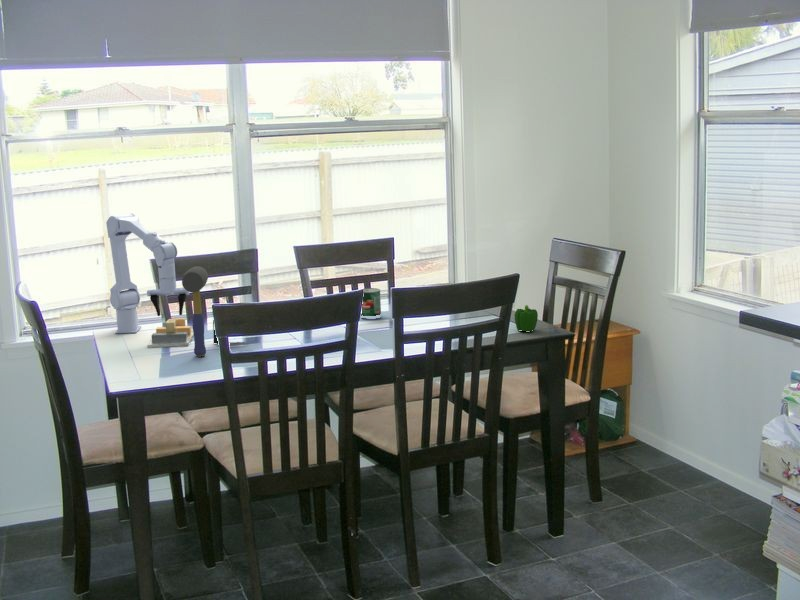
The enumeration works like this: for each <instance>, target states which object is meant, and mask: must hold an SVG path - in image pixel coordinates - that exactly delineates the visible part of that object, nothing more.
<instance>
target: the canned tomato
mask: <svg viewBox="0 0 800 600" xmlns="http://www.w3.org/2000/svg"><path fill="white" fill-rule="evenodd" d="M360 290H363V291H364V297H363V304H362V314H361V313H360V317H361V316H362V315H363V316H376V315H380V314H381V315H382V310H381V309H382V308H381V306H382V305H381V289H380V288H374V287H371V288H369V287H368V288H362V289H360Z"/></svg>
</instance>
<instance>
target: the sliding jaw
mask: <svg viewBox="0 0 800 600" xmlns="http://www.w3.org/2000/svg"><path fill="white" fill-rule="evenodd" d="M168 320H176V332H187V334H191V328H192V325H186V318H184V317H183V318H168ZM168 320H167V321H168ZM155 333H166V326H157V327H156V329H155Z"/></svg>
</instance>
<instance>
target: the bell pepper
mask: <svg viewBox="0 0 800 600" xmlns="http://www.w3.org/2000/svg"><path fill="white" fill-rule="evenodd" d="M538 316H539V315H538V311H537V309H534V308H533V309H531V308H530V307H529V305H528V304H526V305H524V309H522V308H516V310H515V312H514V322H515V327H516V330H517V331H518V330H522V331H532V330H533V331H534V330H535V329H536V327H537V323H538ZM533 331H532V332H533Z"/></svg>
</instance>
